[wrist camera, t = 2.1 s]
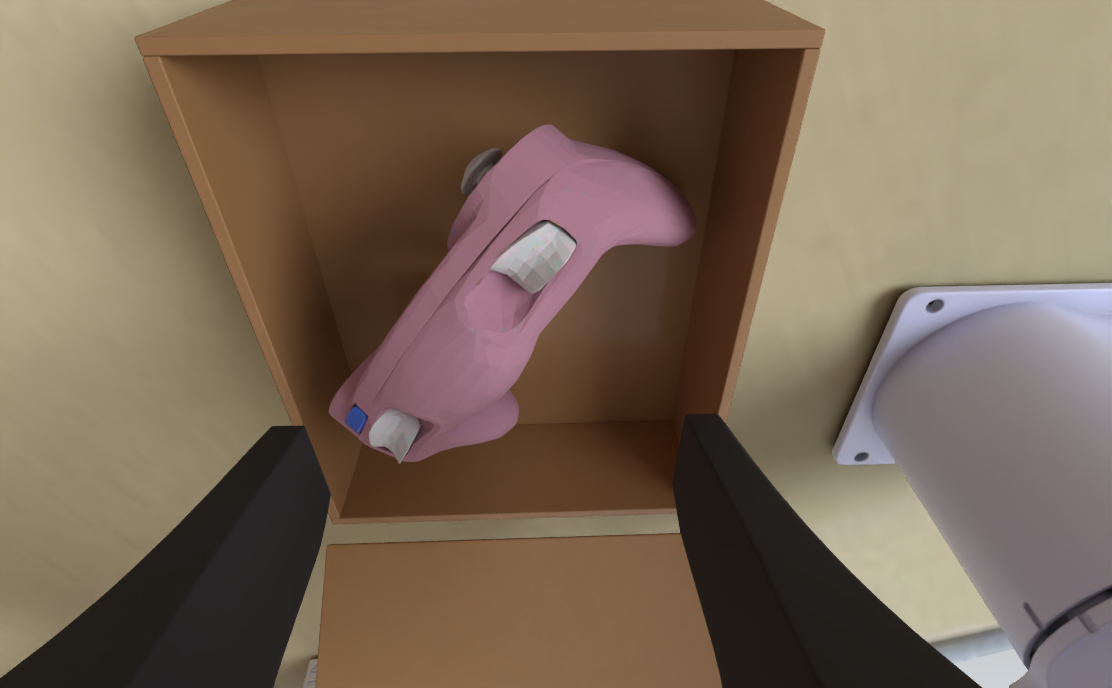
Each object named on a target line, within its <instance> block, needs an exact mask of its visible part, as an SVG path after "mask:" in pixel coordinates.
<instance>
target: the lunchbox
mask: <svg viewBox="0 0 1112 688" xmlns="http://www.w3.org/2000/svg"><path fill="white" fill-rule="evenodd" d="M824 34H825V29H823V28H821V27H819V26H816V25H814V24H812V23H810V22H808V21H806V20H804V19H802V18H800V17H798V16H796V15H794V14H791V13H789V12H787V11H785V10H783V9H781V8H779V7H777V6H775V5H773V4H771V3H768V2H766V1H764V0H232V1H230V2H227V3H224V4H221V5H219V6H216V7H213V8H211V9H208V10H205V11H203V12H200V13H197V14H195V15H192V16H189V17H187V18H184V19H181V20H179V21H176V22H173V23H171V24H168V25H165V26H163V27H160V28H157V29H155V30H152V31H149V32H147V33H144V34H141V35H138V36H136V37H135V41H136V43H137V46H138V48H139V51H140V53H141V55H142V56H144V57H143V60H144V63H145V65H146V68H147V70H148V73H149V75H150V78H151V80H152V83H153V85H154V87H155V90H156V92H157V95H158V97H159V100H160V102H161V105H162V107H163V109H164V112H165V114H166V117H167V119H168V122H169V124H170V127H171V129H172V132H173V134H174V136H175V139H176V141H177V144H178V146H179V149H180V151H181V154H182V156H183V158H184V161H185V163H186V166H187V168H188V171H189V173H190V176H191V178H192V180H193V183H194V185H195V188H196V190H197V193H198V195H199V198H200V200H201V203H202V205H203V207H204V210H205V212H206V215H207V217H208V220H209V222H210V225H211V227H212V229H213V232H214V234H215V237H216V239H217V242H218V244H219V247H220V249H221V252H222V254H223V256H224V259H225V261H226V264H227V266H228V269H229V271H230V274H231V276H232V278H233V281H234V283H235V286H236V288H237V291H238V293H239V296H240V298H241V301H242V303H243V305H244V308H245V310H246V313H247V315H248V318H249V320H250V323H251V325H252V327H253V330H254V332H255V335H256V337H257V340H258V342H259V345H260V347H261V349H262V352H263V354H264V357H265V359H266V362H267V364H268V367H269V369H270V372H271V374H272V376H273V379H274V381H275V384H276V386H277V389H278V391H279V394H280V396H281V398H282V401H283V403H284V406H285V408H286V411H287V413H288V416H289V418H290V421H291V423H292V425H293V426H303V425H304V426H305V428H306V431H307V433H308V436H309V438H310V441H311V444H312V446H313V449H314V451H315V454H316V456H317V459H318V462H319V464H320V467H321V469H322V472H323V474H324V477H325V479H326V482H327V485H328V487H329V490H330V492H331V497H330V503H329V508H328V514H329V516H330V518H331V521H332V523H333V524H358V523H390V522H422V521H455V520H487V519H519V518H551V517H583V516H615V515H647V514H677V510H676V503H675V497H674V491H673V484H672V482H673V477H674V471H675V466H676V461H677V455H678V450H679V445H680V440H681V434H682V429H683V424H684V419H685V414H718V415H719V416H720V417H721V418H722V419H723V421H724V422H725V423H726V421H727V417H728V413H729V409H730V405H731V401H732V397H733V393H734V389H735V385H736V381H737V377H738V373H739V370H740V366H741V362H742V358H743V354H744V350H745V346H746V342H747V338H748V334H749V330H750V326H751V322H752V318H753V314H754V310H755V306H756V303H757V299H758V295H759V291H760V287H761V283H762V279H763V275H764V271H765V267H766V263H767V259H768V255H769V251H770V247H771V243H772V239H773V235H774V232H775V228H776V224H777V220H778V216H779V212H780V208H781V204H782V200H783V196H784V192H785V188H786V184H787V180H788V176H789V172H790V168H791V164H792V161H793V157H794V153H795V149H796V145H797V141H798V137H799V133H800V129H801V125H802V121H803V117H804V113H805V109H806V105H807V101H808V97H809V94H810V90H811V86H812V82H813V78H814V74H815V70H816V66H817V62H818V58H819V54H820V49H819V48H821V46H822V42H823V38H824ZM543 125H553V126H554V127H556V128H557V129H558V130H559V131H560V132H561V133H562V134H564V135H565V136H566V137H567V138H568V139H570V140H574V141H579V142H583V143H587V144H591V145H596V146H600V147H604V148H609V149H613V150H615V151H617V152H620V153H622V154H625V155H627V156H629V157H632V158H634V159H636V160H639V161H641V162H643V163H645V164H646V165H648V166H650V167H651V168H653V169H654V170H656V171H657V172H659V173H660V174H662V175H663V176H664V177H666V178H667V179H668V180H670V181H671V182H672V183H673V184H674V185H675V186H677V188H678V189H679V190H680V191H681V192H682V193H683V195H684V196H685V198H686V199H687V201H688V202H689V204H690V205H691V207H692V210H693V212H694V215H695V218H696V232H695V233H694V235H693V236H692V238H691V239H690V240H688V241H686V242H684V243H682V244H680V245H678V246H670V247H664V246H653V245H642V244H630V245H617V246H613V247H612V248H610V249H609V250H608V251H606V252H605V253H604V254H602V256H601V257H600V258H599V260H598V261H597V263H596V264H595V265H594V267H593V268H592V269H591V271H590V272H589V274H588V275H587V276H586V278H585V279H584V280H583V282H582V283H581V284H580V286H579V287H578V289H577V290H576V291H575V293H574V294H573V295H572V296H571V298H570V299H569V300H568V301H567V302H566V303H565V305H564V306H563V307H562V308H561V309H560V310H559V312H558V313H557V314H556V315H555V316H554V317H553V319H552V320H551V321H550V322H549V323H548V324H547V326H546V327H545V328H544V329H543V330H542V331H541V333H540V334H539V336H538V339H537V341H536V344H535V346H534V349H533V352H532V354H531V357H530V359H529V360H528V362H527V364H526V366H525V367H524V369H523V371H522V373H521V374H520V376H519V378H518V380H517V381H516V382H515V383H514V384H513V385H512V386H511V388H510V391H511V392H512V394H513V395H514V397H515V399H516V401H517V404H518V406H519V415H518V421H517V423H516V425H515V426H514V427H513V428H512V429H510V430H509V431H508V432H507V433H506V434H504V435H503V436H501V437H500V438H498V439H494V440H490V441H487V442H483V443H478V444H472V445H466V446H460V447H454V448H450V449H447V450H443V451H440V452H438V453H436V454H433V455H431V456H429V457H427V458H425V459H422V460H421V461H416V462H405V461H401V463H400V464H399V463H398V461H397V459H396V458H395V457H392V456H390V455H387V454H385V453H382V452H380V451H377V450H375V449H373V448H371V447H369V446H367V445H365V444H364V443H363V442H361V441H360V440H359V439H358V437H357V436H355V435H354V434H353V433H352V432H350V431H349V430H348V429H347V428H345V427H344V426H343V425H342V424H340V423H339V422H338V421H337V420H335V419H334V418H333V417H332V416H330V414H329V408H330V404H331V402H332V400H333V398H334V396H335V395H336V393H337V392H338V390H339V389H340V388H341V386H342V385H343V384H344V383H345V381H346V380H347V379H348V378H349V377H350V376H351V375H352V373H353V372H354V371H355V370H356V369H357V368H358V367H359V365H360V364H361V363H362V362H363V361H364V360H365V359H366V358H367V357H368V356H369V355H370V354H371V353H372V352H374V351H375V350H376V349H377V348H378V347H379V346H380V345H381V344H382V342H383V341H384V339H385V338H386V336H387V335H388V333H389V331H390V330H391V329H392V327H393V326H394V324H395V323H396V321H397V320H398V319H399V317H400V316H401V314H402V313H403V312H404V310H405V309H406V307H407V306H408V304H409V303H410V302H411V300H412V299H413V297H414V296H415V295H416V293H417V292H418V290H419V289H420V288H421V286H422V285H423V284H424V283H425V281H426V280H427V279H428V278H429V276H430V275H431V274H432V273H433V271H434V270H435V269H436V268H437V266H438V265H439V264H440V263H441V261H442V260H443V259H444V258H445V256H446V255H447V254H448V252H449V250H448V247H447V240H448V237H449V234H450V231H451V228H452V225H453V223H454V221H455V220H456V218H457V216H458V214H459V212H460V211H461V209H462V207H463V205H464V203H465V202H466V200H467V198H468V196H469V195H464V194H463V193H462V191H461V184H462V180H463V177H464V172H465V169H466V168H467V166H468V165H469V163H470V162H471V161H472V159H474V158H475V157H476V156H477V155H478V154H481V153H483V152H485V151H486V150H489V149H491V148H500V149H501V151H502V156H501V158H502V157H503V156H504V155H505V154H506V153H507V152H508V151H509V150H510V149H511V148H512V147H513V146H514V145H515V144H516V143H517V142H518V141H519V140H520V139H521V138H522V137H524V136H525V135H527V134H528V133H530V132H531V131H533V130H534V129H536V128H538V127H540V126H543Z"/></svg>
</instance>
